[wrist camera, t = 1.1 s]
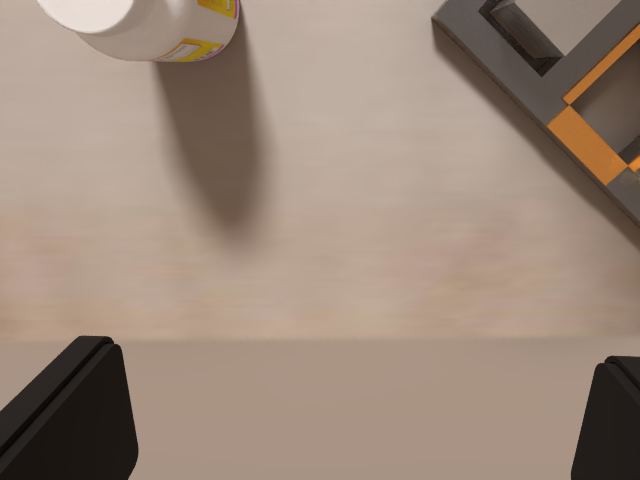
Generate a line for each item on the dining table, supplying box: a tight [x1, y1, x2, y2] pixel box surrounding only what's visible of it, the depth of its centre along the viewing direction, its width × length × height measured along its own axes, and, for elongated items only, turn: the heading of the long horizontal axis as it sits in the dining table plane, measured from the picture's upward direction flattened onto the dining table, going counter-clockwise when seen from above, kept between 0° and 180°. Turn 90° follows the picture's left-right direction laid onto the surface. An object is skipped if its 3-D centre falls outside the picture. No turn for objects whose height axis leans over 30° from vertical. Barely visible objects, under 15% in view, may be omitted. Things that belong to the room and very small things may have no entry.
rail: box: [431, 0, 640, 228], centre depth 29 cm, size 9×25×2 cm, turn 49°
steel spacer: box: [489, 0, 621, 58], centre depth 27 cm, size 4×4×5 cm
